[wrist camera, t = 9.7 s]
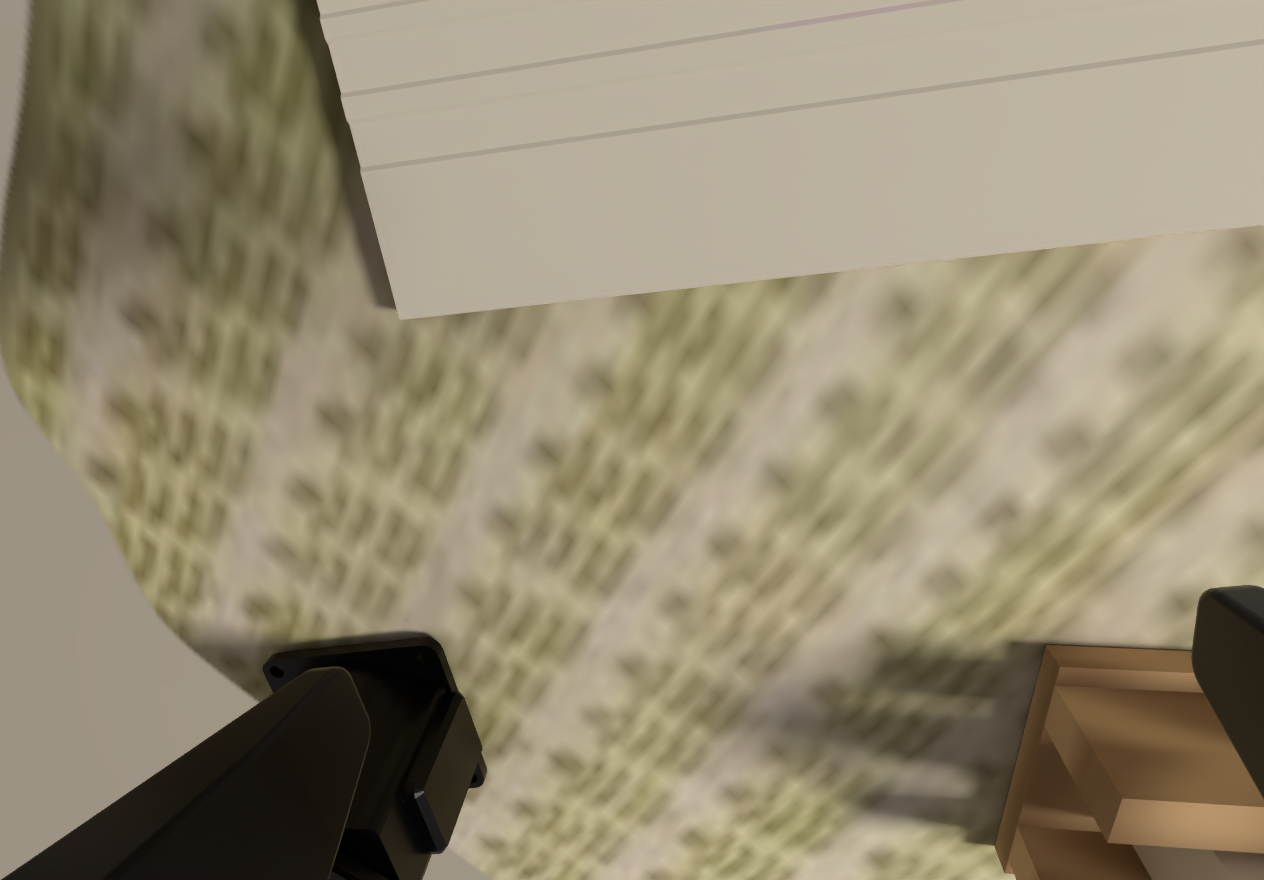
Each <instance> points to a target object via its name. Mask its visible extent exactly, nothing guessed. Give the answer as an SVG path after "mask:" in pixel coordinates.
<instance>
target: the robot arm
mask: <svg viewBox="0 0 1264 880" xmlns="http://www.w3.org/2000/svg"><path fill="white" fill-rule="evenodd" d="M423 651H424V652H428V653H429V654H430V655H431V656H430V655H426V654H424V653H423ZM1191 660H1192V667H1193V671H1194V674H1195V677H1196V680H1197V682H1198V684H1199V686H1200V687H1201V689H1202V691H1203V693H1204V695H1205V696H1206V698H1207V700H1208V702H1209V703H1210V705H1211V707H1212V709H1213V711H1214V712H1215V714H1216V716H1217V718H1218V719H1219V721H1220V723H1221V725H1222V727H1223V728H1224V730H1225V732H1226V734H1227V735H1228V737H1229V739H1230V741H1231V743H1232V744H1233V746H1234V748H1235V750H1236V751H1237V753H1238V755H1239V757H1240V759H1241V760H1242V762H1243V764H1244V766H1245V767H1246V769H1247V771H1248V773H1249V775H1250V776H1251V778H1252V780H1253V782H1254V783H1255V785H1256V787H1257V789H1258V791H1259V792H1260V794H1261V796H1262V798H1263V799H1264V588H1261V587H1258V586H1253V585H1242V586H1231V587H1220V588H1211V589H1208V590H1206V591H1205V592H1203V593H1202V595H1201V597H1200V598H1199V602H1198V607H1197V615H1196V623H1195V630H1194V638H1193V646H1192V653H1191ZM278 667H279V668H278ZM280 668H281V669H280ZM263 672H264V674H265V677H266V679H267V681H268V683H269V685H270V687H271V689H272V691H273V694H272V695H270V696H269V697H267V698H266V699H264V700H263V701H261V702H260V703H258V704H257V705H256V706H254V707H253V708H251V709H250V710H248V711H247V712H245V713H244V714H242V715H241V716H240V717H238V718H237V719H235V720H234V721H232V722H231V723H229V724H228V725H226V726H225V727H223V728H222V729H221V730H219V731H218V732H216V733H215V734H213V735H212V736H210V737H209V738H207V739H206V740H204V741H203V742H202V743H200V744H199V745H197V746H196V747H194V748H193V749H191V750H190V751H189V752H187V753H185V754H184V755H183V756H181V757H180V758H178V759H177V760H175V761H174V762H172V763H171V764H169V765H168V766H166V767H165V768H164V769H162V770H161V771H160V772H158V773H156V774H155V775H153V776H152V777H150V778H149V779H148V780H146V781H145V782H143V783H142V784H140V785H139V786H137V787H136V788H134V789H133V790H131V791H130V792H129V793H127V794H126V795H124V796H123V797H121V798H120V799H118V800H117V801H115V802H114V803H112V804H111V805H110V806H108V807H107V808H105V809H104V810H102V811H101V812H99V813H98V814H96V815H95V816H93V817H92V818H91V819H89V820H88V821H86V822H85V823H83V824H82V825H80V826H79V827H77V828H76V829H74V830H73V831H72V832H70V833H69V834H67V835H66V836H64V837H63V838H61V839H60V840H58V841H57V842H55V843H54V844H53V845H51V846H50V847H48V848H47V849H45V850H44V851H42V852H41V853H39V854H38V855H37V856H35V857H34V858H32V859H31V860H30V861H28V862H26V863H25V864H23V865H22V866H20V867H19V868H17V869H16V870H15V871H13V872H12V873H10V874H9V875H7V876H6V877H5V878H3V879H2V880H422V879H423V876H424V874H425V871H426V868H427V866H428V863H429V860H430V858H431V855H432V854H440V853H442V852H443V851H444V850H445V848H446V847H447V846H448V844H449V841H450V838H451V836H452V833H453V830H454V827H455V825H456V822H457V819H458V816H459V813H460V811H461V808H462V805H463V802H464V799H465V797H466V794H467V791H468V788H476V787H480V786H481V785H482V784H483V782H484V780H485V777H486V774H487V767H486V765H485V762H484V759H483V756H482V754H481V752H482V745H481V742H480V739H479V737H478V734H477V731H476V729H475V726H474V723H473V720H472V718H471V715H470V712H469V709H468V707H467V704H466V701H465V698H464V697H463V695H462V694H461V693H460V692H459V691H458V689H457V686H456V683H455V680H454V678H453V675H452V672H451V669H450V667H449V664H448V661H447V659H446V656H445V653H444V650H443V648H442V646H441V645H440V643H438V642H437V641H436V640H434V639H431V638H417V639H407V640H397V641H387V642H378V643H368V644H358V645H349V646H339V647H329V648H319V649H310V650H300V651H290V652H281V653H275V654H273V655H272V656H271V657H270V658H269V659H268V660H267V661H266V663H265V664H264V666H263Z"/></svg>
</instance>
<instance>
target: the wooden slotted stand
mask: <svg viewBox="0 0 1264 880" xmlns="http://www.w3.org/2000/svg"><path fill="white" fill-rule="evenodd" d="M1191 653H1192V651H1175V650H1152V649H1129V648H1107V647H1084V646H1061V645H1046V647H1045V651H1044V655H1043V659H1042V662H1041V666H1040V670H1039V674H1038V678H1037V682H1036V686H1035V690H1034V694H1033V698H1032V702H1031V706H1030V710H1029V714H1028V718H1027V722H1026V725H1025V729H1024V733H1023V737H1022V741H1021V745H1020V749H1019V753H1018V757H1017V761H1016V765H1015V769H1014V773H1013V777H1012V781H1011V784H1010V788H1009V792H1008V796H1007V800H1006V804H1005V808H1004V812H1003V816H1002V820H1001V824H1000V828H999V832H998V836H997V840H996V843H995V849H996V852H997V854H998V857H999V860H1000V862H1001V865H1002V867H1003V870H1004V873H1009V874H1014V875H1015V877H1016V880H1152V879H1151V877H1150V875H1149V873H1148V872H1147V870H1146V868H1145V866H1144V865H1143V863H1142V861H1141V859H1140V858H1139V856H1138V854H1137V852H1136V851H1135V849H1134V847H1133V845H1146V846H1160V847H1175V848H1190V849H1204V850H1219V851H1234V852H1248V853H1263V854H1264V799H1263V798H1262V796H1261V794H1260V792H1259V791H1258V789H1257V787H1256V785H1255V783H1254V782H1253V780H1252V778H1251V776H1250V775H1249V773H1248V771H1247V769H1246V767H1245V766H1244V764H1243V762H1242V760H1241V759H1240V757H1239V755H1238V753H1237V751H1236V750H1235V748H1234V746H1233V744H1232V743H1231V741H1230V739H1229V737H1228V735H1227V734H1226V732H1225V730H1224V728H1223V727H1222V725H1221V723H1220V721H1219V719H1218V718H1217V716H1216V714H1215V712H1214V711H1213V709H1212V707H1211V705H1210V703H1209V702H1208V700H1207V698H1206V696H1205V695H1204V693H1203V691H1202V689H1201V687H1200V686H1199V684H1198V682H1197V680H1196V677H1195V674H1194V671H1193V667H1192V660H1191Z"/></svg>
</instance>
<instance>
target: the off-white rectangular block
mask: <svg viewBox="0 0 1264 880" xmlns="http://www.w3.org/2000/svg"><path fill="white" fill-rule="evenodd" d="M1133 847H1134V849H1135V851H1136V852H1137V854H1138V856H1139V858H1140V859H1141V861H1142V863H1143V865H1144V866H1145V868H1146V870H1147V872H1148V873H1149V875H1150V877H1151V879H1152V880H1264V854H1263V853H1248V852H1234V851H1219V850H1204V849H1190V848H1175V847H1160V846H1146V845H1133Z"/></svg>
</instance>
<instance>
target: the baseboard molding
mask: <svg viewBox="0 0 1264 880" xmlns="http://www.w3.org/2000/svg"><path fill="white" fill-rule="evenodd" d="M317 4H318V8H319V11H320V22H321V26H322V30H323V33H324V37H325V40H326V42H327V43H328V46H329V49H330V53H331V57H332V61H333V64H334V68H335V72H336V76H337V80H338V83H339V87H340V91H341V101H342V105H343V109H344V112H345V116H346V120H347V122H348V123H349V125H350V129H351V133H352V136H353V140H354V144H355V148H356V151H357V155H358V159H359V163H360V167H361V170H360V173H361V177H362V180H363V184H364V188H365V192H366V195H367V199H368V203H369V207H370V210H371V214H372V218H373V222H374V226H375V229H376V233H377V237H378V241H379V244H380V248H381V252H382V256H383V259H384V263H385V267H386V271H387V275H388V278H389V282H390V286H391V290H392V293H393V297H394V301H395V305H396V308H397V312H398V316H399V320H405V319H414V318H423V317H432V316H441V315H450V314H459V313H468V312H478V311H487V310H496V309H505V308H514V307H523V306H532V305H541V304H550V303H559V302H568V301H577V300H587V299H596V298H605V297H614V296H623V295H632V294H641V293H650V292H659V291H668V290H677V289H686V288H696V287H705V286H714V285H723V284H732V283H741V282H750V281H759V280H768V279H777V278H786V277H795V276H805V275H814V274H823V273H832V272H841V271H850V270H859V269H868V268H877V267H886V266H895V265H904V264H913V263H923V262H932V261H941V260H950V259H959V258H968V257H977V256H986V255H995V254H1004V253H1013V252H1022V251H1032V250H1041V249H1050V248H1059V247H1068V246H1077V245H1086V244H1095V243H1104V242H1113V241H1122V240H1131V239H1141V238H1150V237H1159V236H1168V235H1177V234H1186V233H1195V232H1204V231H1213V230H1222V229H1231V228H1240V227H1249V226H1259V225H1264V0H317Z"/></svg>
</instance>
